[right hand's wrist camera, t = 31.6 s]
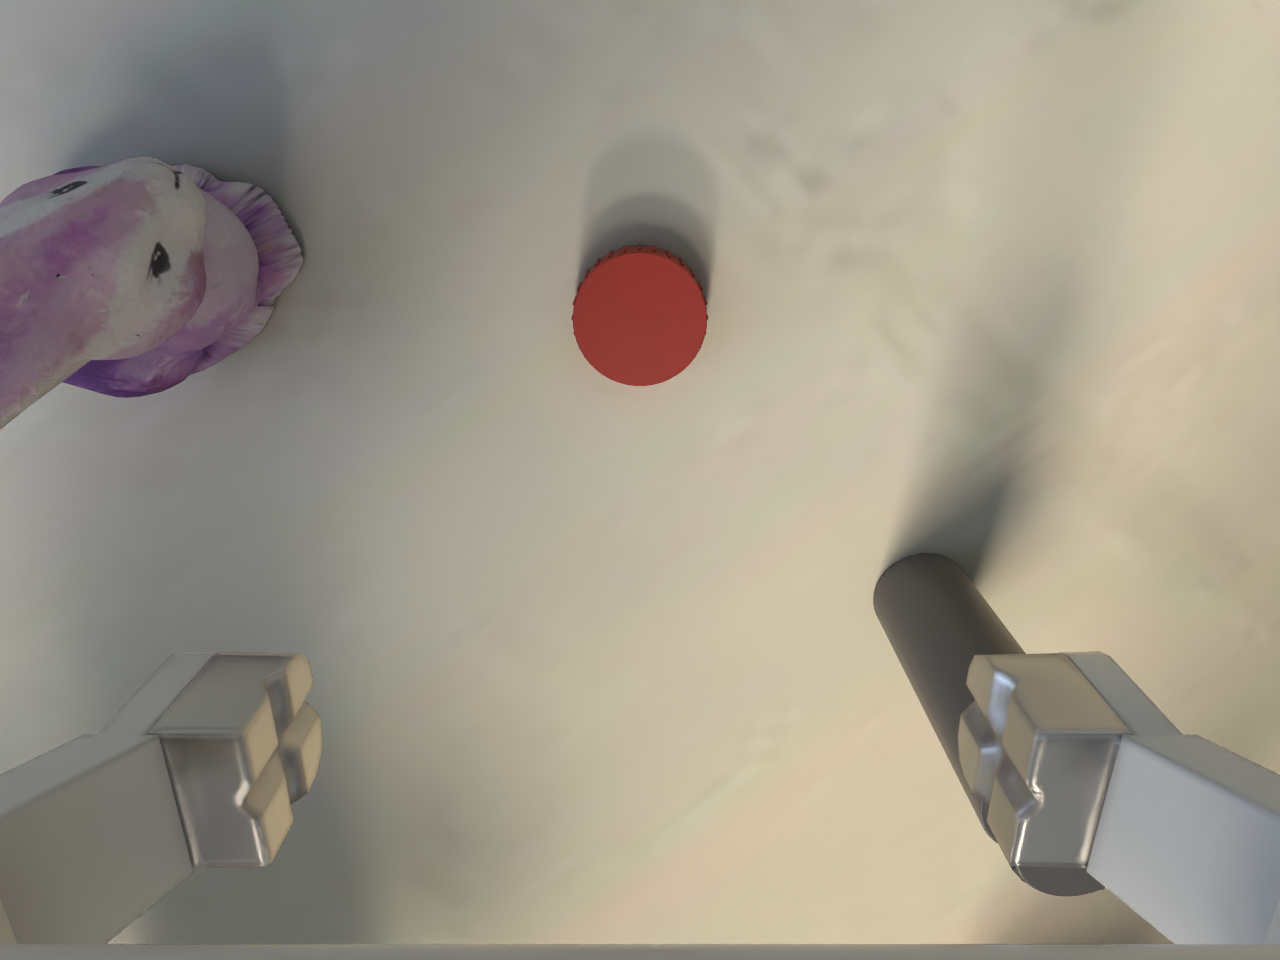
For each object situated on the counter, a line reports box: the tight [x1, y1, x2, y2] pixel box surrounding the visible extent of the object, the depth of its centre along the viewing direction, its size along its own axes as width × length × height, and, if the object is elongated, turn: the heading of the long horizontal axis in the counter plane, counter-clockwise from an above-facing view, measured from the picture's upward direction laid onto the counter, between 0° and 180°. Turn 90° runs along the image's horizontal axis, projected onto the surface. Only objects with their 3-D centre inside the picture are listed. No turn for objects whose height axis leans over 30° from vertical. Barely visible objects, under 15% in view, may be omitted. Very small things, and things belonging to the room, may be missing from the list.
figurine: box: [0, 156, 303, 429], centre depth 27 cm, size 9×10×15 cm
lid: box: [572, 244, 708, 386], centre depth 34 cm, size 5×5×2 cm
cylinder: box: [874, 554, 1106, 896], centre depth 33 cm, size 4×4×16 cm
